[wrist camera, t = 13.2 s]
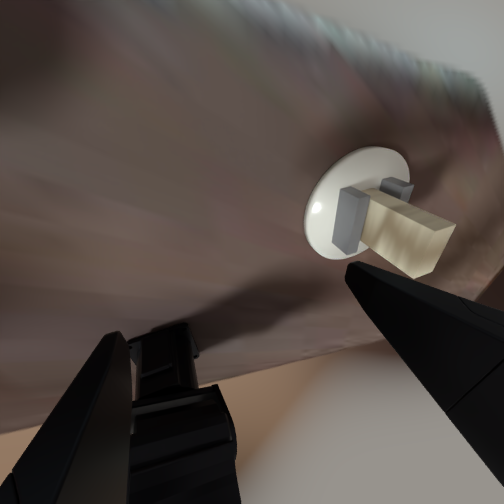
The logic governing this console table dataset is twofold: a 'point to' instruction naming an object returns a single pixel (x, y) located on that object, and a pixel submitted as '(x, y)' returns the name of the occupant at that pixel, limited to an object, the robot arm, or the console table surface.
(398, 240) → the block
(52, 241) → the console table surface
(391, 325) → the robot arm
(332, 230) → the dish
